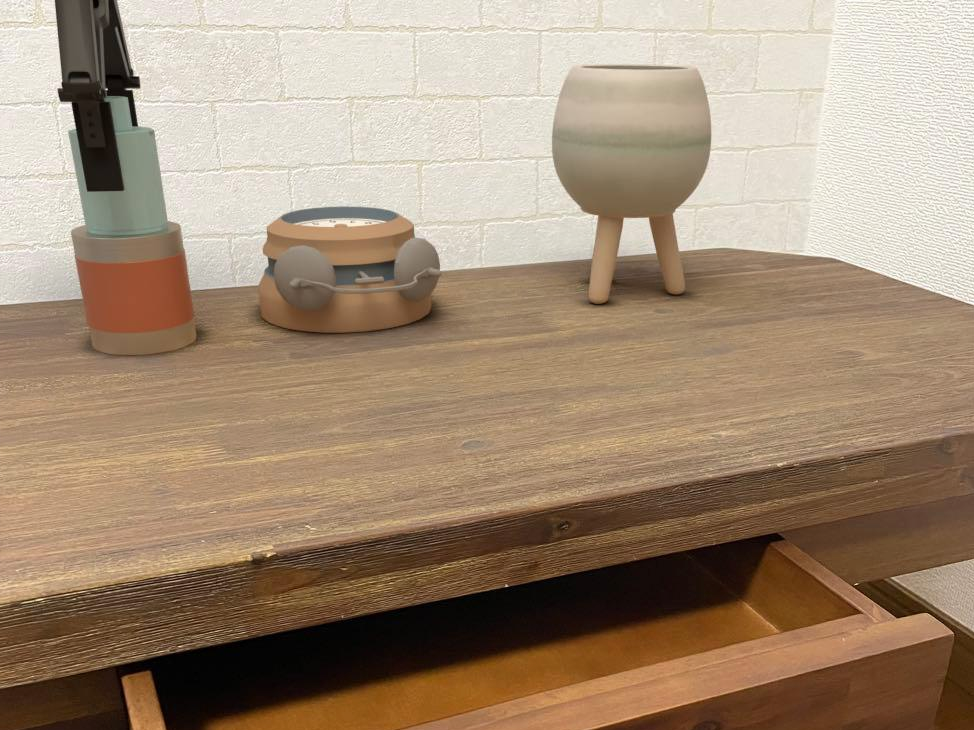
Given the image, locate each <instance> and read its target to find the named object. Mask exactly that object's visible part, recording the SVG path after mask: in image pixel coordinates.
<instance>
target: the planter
mask: <svg viewBox="0 0 974 730" xmlns="http://www.w3.org/2000/svg"><path fill="white" fill-rule="evenodd" d="M551 133H552V134H551V154H552V155H551V156H552V160H553V161H552V162H553V166H554V169H555V173H556V175H557V177H558V180H559V182H560V184H561V185H562V187H563V189H564V191H566V193H567V195H568V196H569V197H570V198H571V200H573V201H574V203H576V204H577V205H578V207H580V208H579V209H580V210H581V211H582V212H583V213H586V214H588V215H593V216H597V221H596V229H595V237H594V243H593V244H594V245H593V249H592V257H591V264H590V273H589V278H590V279H589V284H588V285H589V286H588V300H589V301H590V302H591V303H593V304H594V305H595V304H596V305H602V304H603V303H606V302H607V301H608V300H609V297H610V292H611V287H612V283H613V277H614V273H615V268H616V263H617V259H618V254H619V248H620V243H621V238H622V233H623V227H624V219H646V218H648V222H649V223H648V224H649V227H650V231H651V235H652V240H653V244H654V248H655V252H656V256H657V260H658V264H659V267H660V271H661V275H662V278H663V283H664V287H665V290H666V291H667V293H668V294H671V295H675V296H677V295H681V294H683V293H684V292H685V290H686V281H685V274H684V270H683V264H682V259H681V254H680V249H679V243H678V237H677V231H676V225H675V220H674V219H675V218H674V213H676V210H677V209H678V208H679V207H681V206H682V205H683V204H684V203H685V202H686V201H687V200H689V198H690V197H691V196H692V194H694V192H695V191H696V189H697V188H698V186H699V185H700V183H701V181H702V180H703V178H704V176H705V173H706V170H707V168H708V165H709V160H710V155H711V149H712V117H711V108H710V104H709V99H708V93H707V90H706V87H705V84H704V80H703V78H702V75H701V73H700V71H699V69H698V68H697V67H695V66H691V65H676V64H645V63H643V64H642V63H597V64H595V63H593V64H578V65H573V66H571V68H570V69H569V71H568V73H567V75H566V77H565V79H564V82H563V83H562V86H561V90H560V92H559V95H558V99H557V103H556V107H555V112H554V116H553V122H552V132H551Z"/></svg>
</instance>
